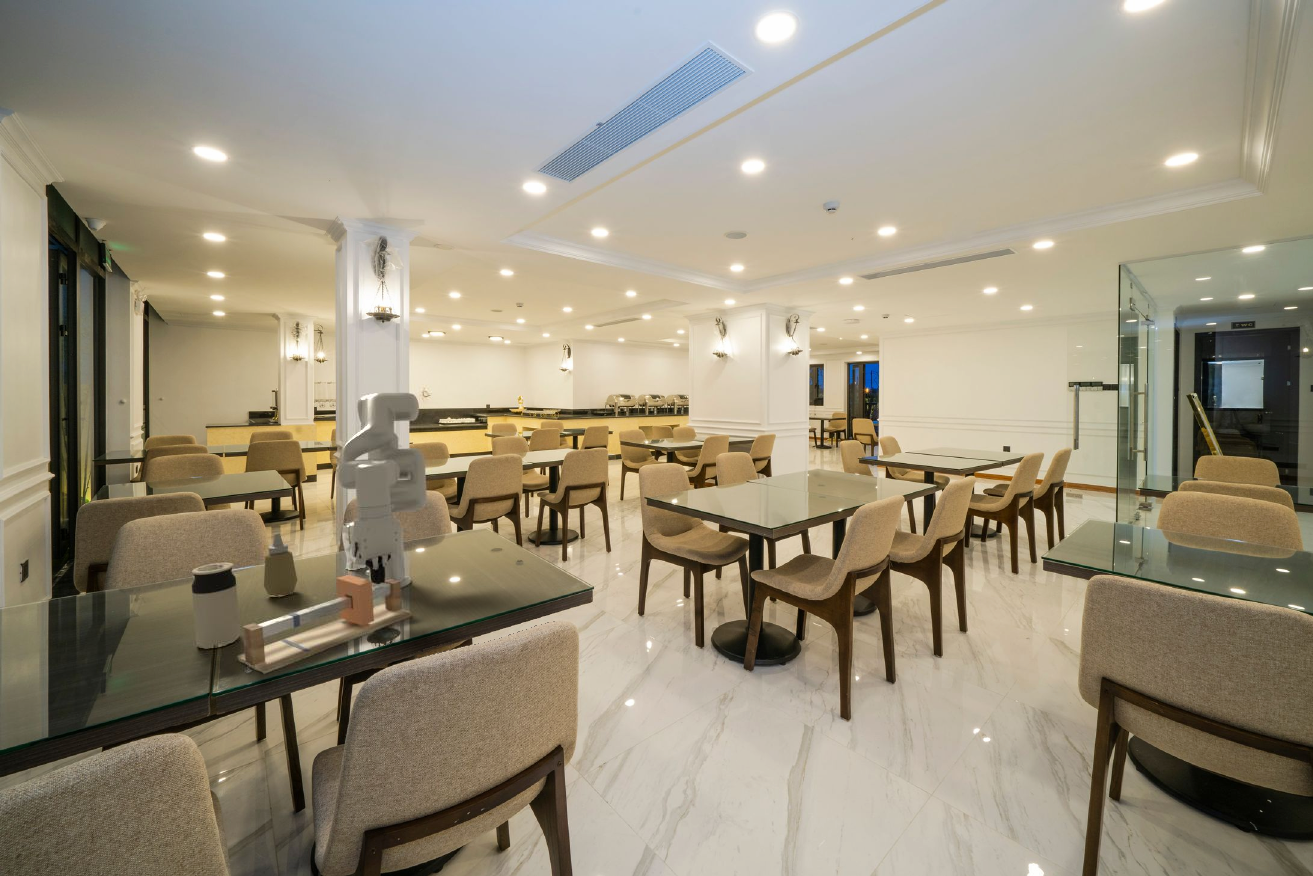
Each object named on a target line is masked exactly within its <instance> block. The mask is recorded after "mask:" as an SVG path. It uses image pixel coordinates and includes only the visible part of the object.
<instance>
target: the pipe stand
mask: <svg viewBox="0 0 1313 876" xmlns="http://www.w3.org/2000/svg"><path fill="white" fill-rule="evenodd" d="M372 595H373V600H378V599H379V598H383V597H384V603H380V604H378V605H376V606H373V612H374V621H373V622H370V623H367V624H365V625H359V624H356V623H354V622H351V621H348V620H345V619H342V618H339V619H336V620H333V621H331V622H327V623H325V624H323V625H320V626H317V627H314V628H312V629H308V630H305V631H303V632H300V633H297V634H294V635H292V636H288V637H286V638H283V639H280V640H278V641H275V642H272V643H269V644H267V645H265V643H264V638H268V637H270V636H273V635H275V634H276V635H277V634H279V633H282V632H284V631H287V630H290V629H293V628H294V629H295V628H298V627H300V626H301V625H305V624H308V623H310V622H313V621H315V620H319V619H322V618H324V617H328V616H331V615H333V614H336V613H338V612H340V611H342V610H345V609H348V608H351V607H353V598H352V596H350V595H347V596H344V597H341V598H338V597H337V598H335V599H332V600H329V601H326V602H322V603H320V604H316V605H314V606H310V607H308V608H305V609H301V610H298V611H295V612H290V613H287V614H285V615H282V616H279V617H277V618H273V619H271V620H267V621H264V622H261V623H258V624H257V623H255V622H253V623H250V624H245V625H243V626H242V633H243V645H244V646H243V647H244V653H242V654H238V655H236V658H237V657H238V658H239V659H241V660H244V661H245V662H248V663H250V664H251V665H253V666H255V667H256V668H258V669H260V670H262V671H267V670H269V669H272V668H275V667H277V666H281V665H285V664H286V663H290V662H293V661H296V660H299V659H302V660H304V659H305V658H304V657H306V656H309V655H312V654H315V653H317V652H319V651H322V652H324V651H323V650H324V649H327V648H330V647H332V646H335V645H337V646H339V645H338V644H340V643H342V644H344V643H343V642H345V643H347V642H349V641H348V640H350V641H352V640H355V639H357V638H359V637H363V636H365V635H367V634H369V633H372V632H374V631H377V630H379V629H382V628H385V627H387V626H389V625H392V624H395V623H398V622H399V621H403V620H405V619H407V618H408V619H409V618H410V617H412V612H411V611H409V610H406V609H403V605H402V602H403V601H402V588H401V583H400V581H397V580H393V579H389V580H386V581H385V582H384V584H381V585H378V586H375V587H372ZM351 639H352V640H351ZM340 645H341V644H340ZM335 647H336V646H335ZM332 648H333V647H332ZM330 649H331V648H330ZM327 650H328V649H327ZM317 654H318V653H317ZM315 655H316V654H315ZM312 656H313V655H312ZM309 657H310V656H309ZM303 658H304V659H303ZM299 661H300V660H299Z"/></svg>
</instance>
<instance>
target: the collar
mask: <svg viewBox="0 0 1313 876" xmlns="http://www.w3.org/2000/svg"><path fill="white" fill-rule="evenodd" d="M335 582H336V592H337V594H336V595H337V599H338V598H341V597H344V596H347V595H350V596H352V598H353V607H351V608H348V609H345V610H342V611H340V612H337V613H338V618H339V619H345V620H348V621H351V622H354V623H356V624H359V625H365V624H367V623H370V622H373V621H374V612H373V607H374V601H373V595H372V581H369V579H366V578H362V577H359V576H358V577H357V576H354V575H351V574H347V575H342V576H338V577H336V581H335Z"/></svg>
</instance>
